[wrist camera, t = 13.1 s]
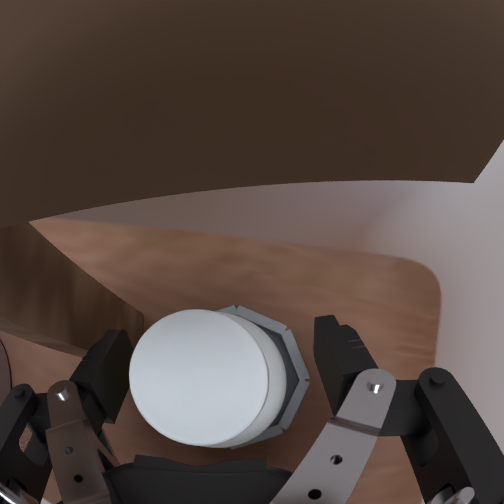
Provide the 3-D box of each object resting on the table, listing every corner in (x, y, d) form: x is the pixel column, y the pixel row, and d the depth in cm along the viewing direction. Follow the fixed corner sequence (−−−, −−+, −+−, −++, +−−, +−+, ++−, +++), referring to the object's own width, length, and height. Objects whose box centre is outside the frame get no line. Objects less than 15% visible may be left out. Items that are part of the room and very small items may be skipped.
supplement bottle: (296, 383, 15) (338, 382, 7) (229, 441, 14) (191, 501, 5) (234, 321, 17) (206, 252, 9) (170, 376, 16) (80, 358, 7)
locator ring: (147, 402, 15) (138, 402, 14) (205, 293, 19) (201, 285, 17) (267, 461, 13) (268, 468, 12) (323, 344, 17) (329, 340, 15)
